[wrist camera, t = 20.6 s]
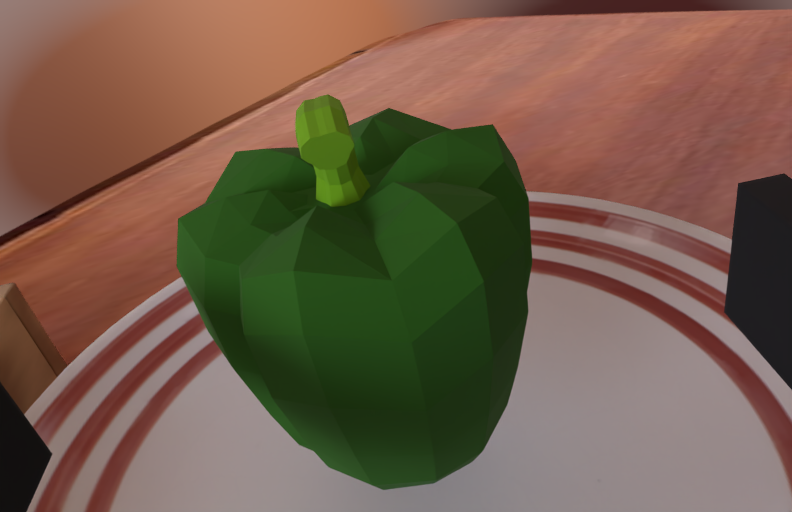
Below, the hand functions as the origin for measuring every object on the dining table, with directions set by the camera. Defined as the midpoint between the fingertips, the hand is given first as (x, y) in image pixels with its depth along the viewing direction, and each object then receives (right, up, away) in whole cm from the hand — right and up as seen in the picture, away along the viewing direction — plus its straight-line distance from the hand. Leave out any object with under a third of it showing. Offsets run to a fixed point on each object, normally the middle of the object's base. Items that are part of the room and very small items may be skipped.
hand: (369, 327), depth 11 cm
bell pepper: (+1, -3, +7) cm, 8 cm away
